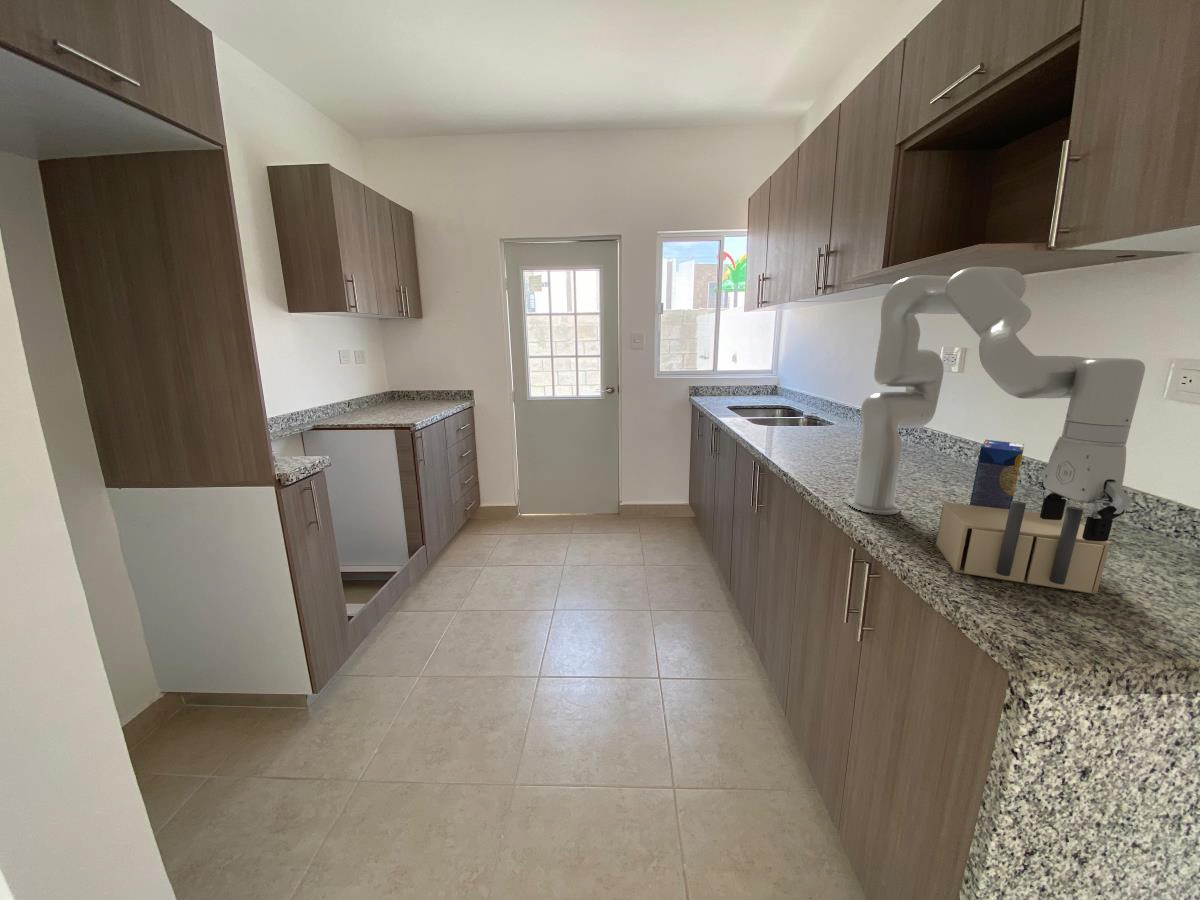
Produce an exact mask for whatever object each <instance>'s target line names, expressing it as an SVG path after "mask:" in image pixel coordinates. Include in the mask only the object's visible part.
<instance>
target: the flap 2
mask: <svg viewBox="0 0 1200 900" xmlns="http://www.w3.org/2000/svg"><path fill="white" fill-rule="evenodd" d="M1083 513H1084V509H1083V508H1081V507H1080V508H1079V507H1077V506H1076V507H1075V506H1067V507H1066V511H1065V515H1064V516H1065V518H1064V522H1063V526H1062V530H1061V534H1060V538H1059V540H1057V539H1049V538H1041V537H1037V538H1036V542H1035V546H1034V550H1033V555H1032V559H1031V563H1030V567H1029V572H1028V576H1027V580H1026V582H1027V583H1032V584H1031V585H1033V584H1038V585H1037V586H1040V585H1044V586H1043V587H1046V586H1051V587H1050V588H1053V587H1057V588H1056V589H1059V588H1064V589H1063V590H1066V589H1070V590H1069V591H1072V590H1077V591H1076V592H1078V591H1083V592H1082V593H1085V592H1090V593H1089V594H1091V592H1092V588H1093V584H1094V581H1095V577H1096V573H1097V570H1098V566H1099V562H1100V559H1101V555H1102V551H1103V548H1104V546H1103V545H1097V544H1089V543H1081V542H1075V541H1076V537H1077V533H1078V529H1079V525H1080V524H1081V521H1082V516H1083ZM1027 583H1026V584H1027Z"/></svg>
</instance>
